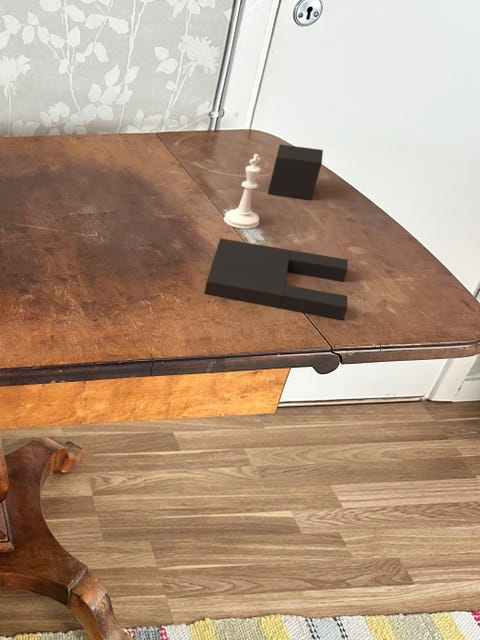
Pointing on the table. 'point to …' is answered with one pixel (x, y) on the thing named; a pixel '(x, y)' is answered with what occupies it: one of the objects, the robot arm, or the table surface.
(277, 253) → the base pad
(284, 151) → the pad piece
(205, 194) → the table surface
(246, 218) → the chess piece
